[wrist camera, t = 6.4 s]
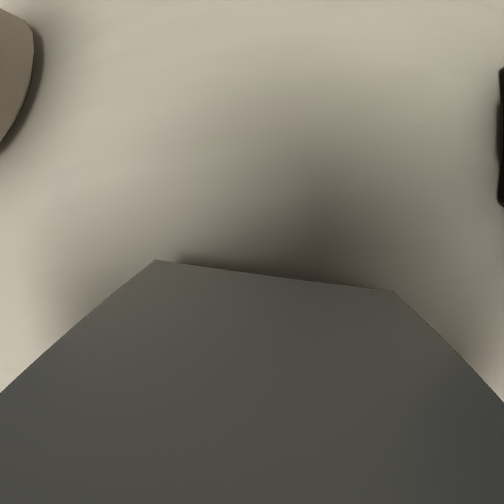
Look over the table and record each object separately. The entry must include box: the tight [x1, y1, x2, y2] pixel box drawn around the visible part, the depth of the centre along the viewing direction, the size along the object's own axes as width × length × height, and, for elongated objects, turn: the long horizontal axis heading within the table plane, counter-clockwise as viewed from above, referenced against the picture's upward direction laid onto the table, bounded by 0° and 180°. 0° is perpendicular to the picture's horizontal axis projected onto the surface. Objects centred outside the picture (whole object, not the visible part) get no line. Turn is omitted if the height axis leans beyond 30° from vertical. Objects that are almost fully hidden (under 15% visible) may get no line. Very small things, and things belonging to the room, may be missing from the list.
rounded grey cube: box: [0, 260, 504, 504], centre depth 6 cm, size 8×8×9 cm
